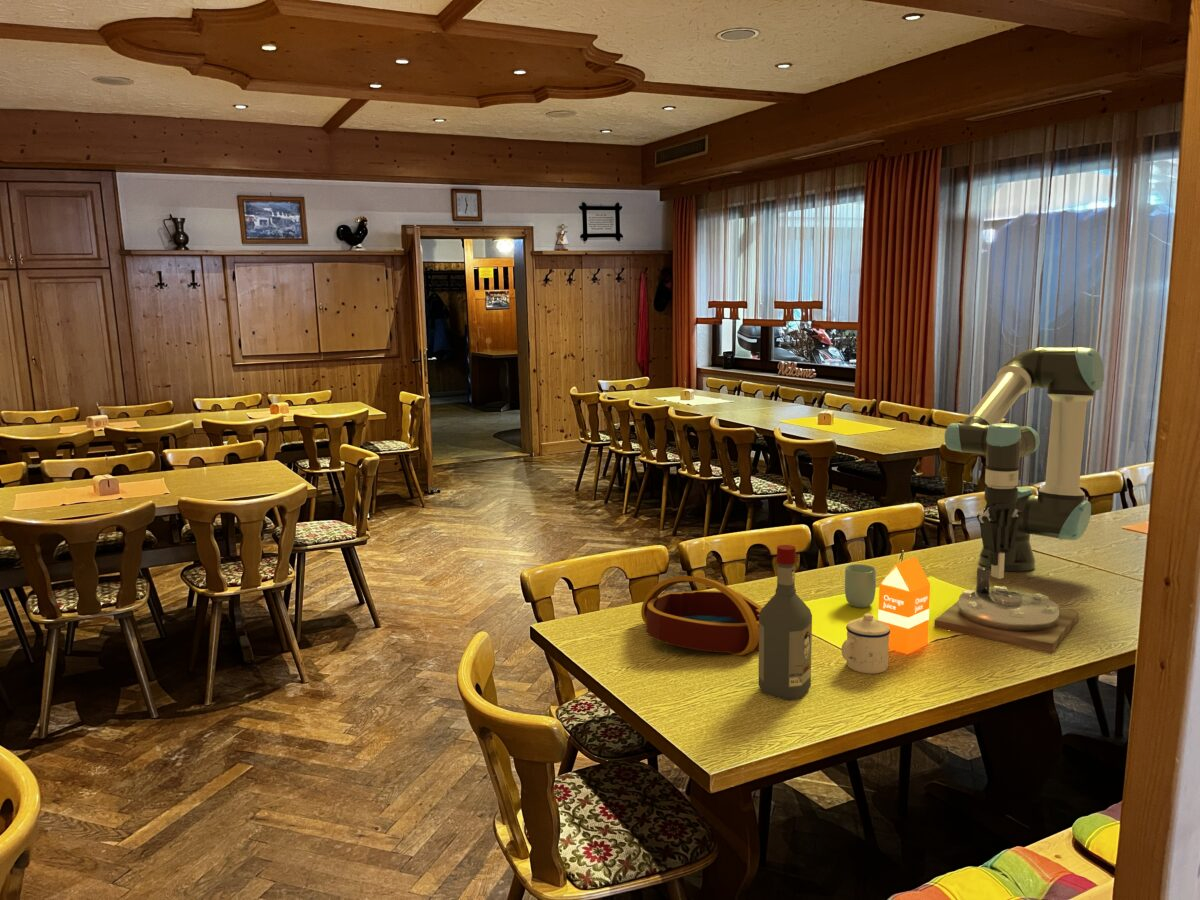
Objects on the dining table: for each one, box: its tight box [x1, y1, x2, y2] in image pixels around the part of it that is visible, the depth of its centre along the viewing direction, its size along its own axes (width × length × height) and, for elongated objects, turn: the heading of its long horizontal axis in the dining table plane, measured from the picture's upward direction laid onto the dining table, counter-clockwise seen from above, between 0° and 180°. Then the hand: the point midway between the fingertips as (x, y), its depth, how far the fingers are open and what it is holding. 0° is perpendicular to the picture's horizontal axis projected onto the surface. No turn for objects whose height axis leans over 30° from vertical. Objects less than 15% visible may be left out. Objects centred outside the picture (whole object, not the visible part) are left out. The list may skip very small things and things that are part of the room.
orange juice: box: [877, 556, 931, 655], centre depth 198 cm, size 8×9×20 cm
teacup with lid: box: [840, 613, 890, 675], centre depth 186 cm, size 12×9×12 cm
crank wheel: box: [958, 566, 1060, 631], centre depth 210 cm, size 22×22×9 cm
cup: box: [844, 563, 877, 609], centre depth 226 cm, size 8×8×10 cm
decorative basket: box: [640, 575, 763, 656], centre depth 206 cm, size 34×29×15 cm
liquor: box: [758, 544, 813, 701], centre depth 175 cm, size 9×9×30 cm
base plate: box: [933, 600, 1080, 653], centre depth 211 cm, size 26×26×2 cm
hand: (997, 576), depth 220 cm, fingers closed
